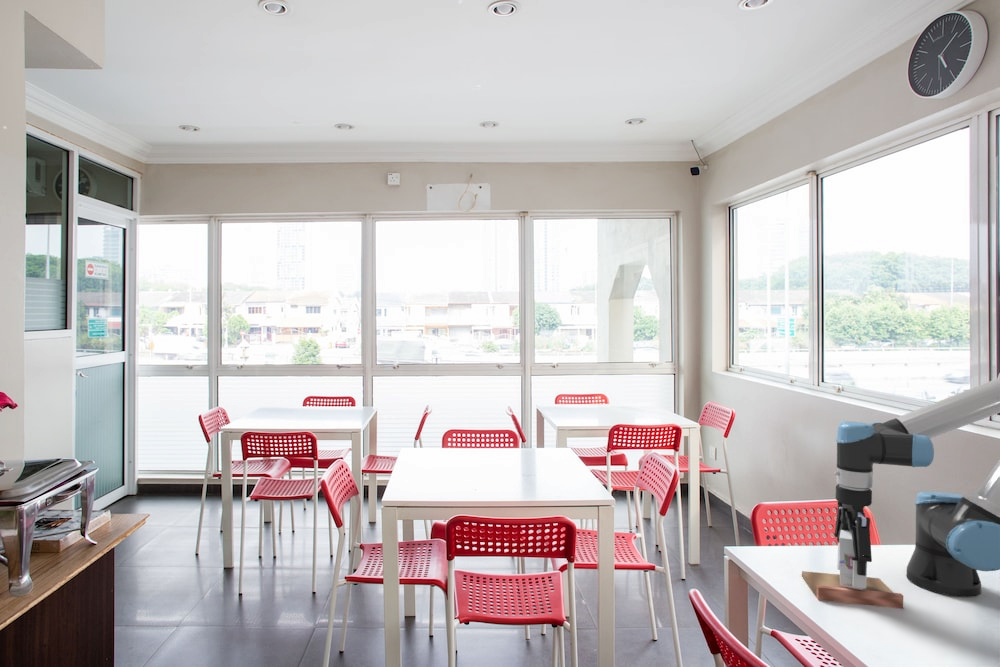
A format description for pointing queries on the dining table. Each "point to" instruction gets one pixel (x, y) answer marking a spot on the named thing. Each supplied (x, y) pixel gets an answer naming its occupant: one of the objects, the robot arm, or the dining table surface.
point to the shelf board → (852, 591)
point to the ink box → (846, 559)
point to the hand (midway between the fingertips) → (851, 578)
